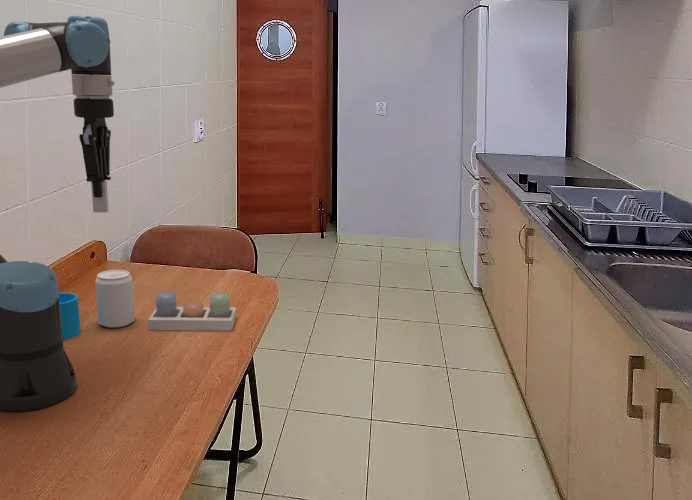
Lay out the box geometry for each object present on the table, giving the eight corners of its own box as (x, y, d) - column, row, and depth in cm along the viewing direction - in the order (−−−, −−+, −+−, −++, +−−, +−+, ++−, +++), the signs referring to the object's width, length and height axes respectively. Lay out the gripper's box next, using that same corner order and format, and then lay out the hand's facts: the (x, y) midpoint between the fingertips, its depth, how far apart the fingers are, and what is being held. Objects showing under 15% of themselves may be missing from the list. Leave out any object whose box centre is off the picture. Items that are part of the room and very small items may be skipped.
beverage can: (90, 324, 153) (87, 275, 150) (117, 314, 160) (114, 267, 157) (115, 331, 149) (112, 281, 146) (142, 320, 156) (139, 272, 153)
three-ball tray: (232, 330, 152) (231, 320, 151) (148, 330, 151) (148, 319, 150) (236, 317, 160) (236, 307, 160) (157, 316, 159) (157, 306, 159)
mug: (72, 339, 144) (69, 304, 142) (35, 339, 144) (31, 304, 142) (91, 320, 156) (88, 287, 154) (56, 319, 155) (53, 287, 153)
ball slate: (174, 313, 152) (174, 298, 151) (154, 313, 152) (153, 298, 151) (178, 307, 157) (178, 292, 156) (159, 306, 156) (158, 291, 155)
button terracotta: (201, 324, 153) (201, 308, 152) (182, 324, 153) (181, 308, 152) (205, 317, 158) (204, 302, 157) (185, 316, 157) (185, 301, 156)
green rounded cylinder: (228, 314, 153) (228, 298, 152) (208, 314, 153) (208, 298, 152) (230, 307, 157) (230, 292, 156) (211, 307, 157) (211, 292, 156)
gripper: (102, 98, 127) (109, 218, 133) (121, 96, 139) (127, 206, 145) (62, 97, 126) (72, 217, 132) (85, 95, 139) (92, 205, 145)
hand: (101, 211), depth 139 cm, fingers closed
